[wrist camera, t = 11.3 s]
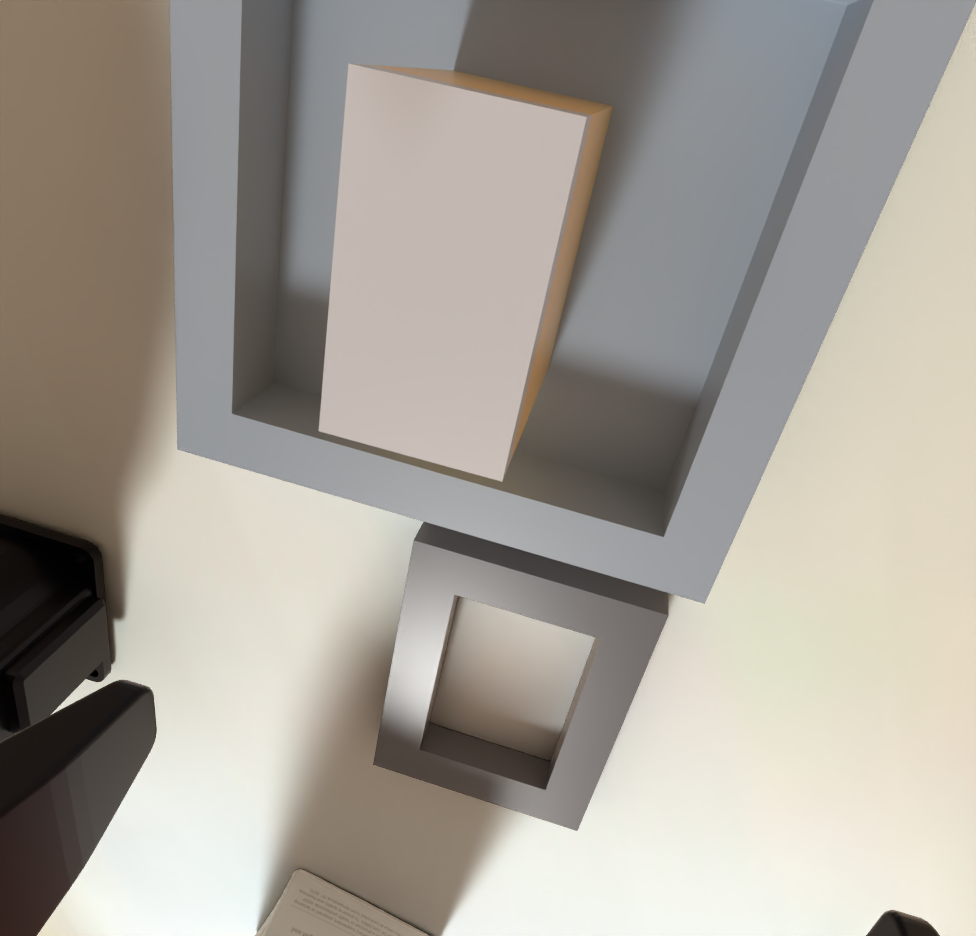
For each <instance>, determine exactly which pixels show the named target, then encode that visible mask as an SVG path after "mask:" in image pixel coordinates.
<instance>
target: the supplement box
mask: <svg viewBox="0 0 976 936" xmlns="http://www.w3.org/2000/svg"><path fill="white" fill-rule="evenodd" d="M255 936H429V935H428V934H426V933H424V932H422V931H420V930H418V929H416V928H414V927H413V926H411V925H409V924H407V923H405V922H403V921H401V920H399V919H397V918H396V917H394V916H392V915H390V914H388V913H386V912H385V911H383V910H381V909H379V908H377V907H374V906H373V905H371V904H369V903H367V902H366V901H364V900H362V899H360V898H358V897H356V896H354V895H352V894H350V893H348V892H346V891H344V890H342V889H340V888H338V887H336V886H334V885H332V884H330V883H328V882H326V881H325V880H323V879H321V878H319V877H317V876H315V875H313V874H311V873H309V872H307V871H305V870H302V869H298V870H296V871H294V873H293V875H292V876H291V878H290V880H289V882H288V884H287V886H286V888H285V890H284V892H283V893H282V895H281V897H280V899H279V900H278V902H277V904H276V905H275V907H274V909H273V910H272V912H271V913H270V915H269V916H268V918H267V919H266V921H265V922H264V924H263V925H262V927H261V928H260V929H259V931H258V932H257V934H256V935H255Z"/></svg>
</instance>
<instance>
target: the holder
mask: <svg viewBox="0 0 976 936" xmlns="http://www.w3.org/2000/svg"><path fill="white" fill-rule="evenodd" d="M458 596H460V597H464V598H467V599H470V600H473V601H477V602H480V603H483V604H487V605H490V606H493V607H497V608H500V609H503V610H507V611H510V612H513V613H517V614H520V615H523V616H527V617H530V618H533V619H537V620H540V621H543V622H547V623H550V624H553V625H557V626H560V627H563V628H567V629H570V630H573V631H577V632H580V633H583V634H587V635H590V636H593V637H596V638H595V641H594V644H593V646H592V649H591V652H590V655H589V657H588V660H587V663H586V665H585V668H584V671H583V674H582V676H581V679H580V682H579V685H578V687H577V690H576V693H575V696H574V698H573V701H572V704H571V707H570V709H569V712H568V715H567V718H566V720H565V723H564V726H563V729H562V731H561V734H560V737H559V740H558V742H557V745H556V748H555V751H554V753H553V756H552V759H551V761H550V762H549V761H546V760H543V759H540V758H537V757H534V756H531V755H527V754H524V753H521V752H518V751H515V750H512V749H508V748H505V747H502V746H499V745H496V744H493V743H490V742H486V741H483V740H480V739H477V738H474V737H471V736H468V735H464V734H461V733H458V732H455V731H452V730H449V729H446V728H442V727H439V726H436V725H433V724H430V723H429V722H430V718H431V713H432V709H433V704H434V700H435V696H436V691H437V687H438V683H439V678H440V674H441V670H442V665H443V661H444V656H445V652H446V648H447V643H448V639H449V635H450V630H451V626H452V622H453V617H454V613H455V608H456V604H457V600H458ZM667 617H668V593H667V592H663V591H660V590H657V589H653V588H650V587H646V586H643V585H639V584H636V583H633V582H629V581H626V580H622V579H619V578H616V577H612V576H609V575H605V574H602V573H598V572H595V571H592V570H588V569H585V568H581V567H578V566H574V565H571V564H568V563H564V562H561V561H557V560H554V559H551V558H547V557H544V556H540V555H537V554H533V553H530V552H527V551H523V550H520V549H516V548H513V547H510V546H506V545H503V544H499V543H496V542H492V541H489V540H486V539H482V538H479V537H475V536H472V535H468V534H465V533H462V532H458V531H455V530H451V529H448V528H445V527H441V526H438V525H434V524H431V523H427V522H424V523H423V524H422V526H421V528H420V530H419V532H418V533H417V535H416V537H415V539H414V542H413V547H412V553H411V558H410V564H409V569H408V575H407V580H406V586H405V592H404V597H403V603H402V608H401V614H400V619H399V625H398V630H397V636H396V641H395V647H394V652H393V658H392V663H391V669H390V675H389V680H388V686H387V691H386V697H385V702H384V708H383V713H382V719H381V724H380V730H379V735H378V741H377V746H376V752H375V758H374V763H373V765H376V766H379V767H382V768H386V769H389V770H392V771H395V772H398V773H401V774H404V775H407V776H410V777H413V778H416V779H419V780H422V781H425V782H429V783H432V784H435V785H438V786H441V787H444V788H447V789H450V790H453V791H456V792H459V793H462V794H465V795H468V796H472V797H475V798H478V799H481V800H484V801H487V802H490V803H493V804H496V805H499V806H502V807H505V808H508V809H511V810H515V811H518V812H521V813H524V814H527V815H530V816H533V817H536V818H539V819H542V820H545V821H548V822H551V823H554V824H558V825H561V826H564V827H567V828H570V829H573V830H576V831H577V830H578V828H579V825H580V823H581V821H582V818H583V816H584V814H585V811H586V809H587V807H588V804H589V802H590V799H591V797H592V795H593V792H594V790H595V788H596V785H597V783H598V781H599V778H600V776H601V773H602V771H603V769H604V766H605V764H606V762H607V759H608V757H609V755H610V752H611V750H612V747H613V745H614V743H615V740H616V738H617V736H618V733H619V731H620V729H621V726H622V724H623V721H624V719H625V717H626V714H627V712H628V710H629V707H630V705H631V703H632V700H633V698H634V695H635V693H636V691H637V688H638V686H639V684H640V681H641V679H642V677H643V674H644V672H645V669H646V667H647V665H648V662H649V660H650V658H651V655H652V653H653V651H654V648H655V646H656V643H657V641H658V639H659V636H660V634H661V632H662V629H663V627H664V625H665V622H666V620H667Z"/></svg>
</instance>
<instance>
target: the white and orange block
mask: <svg viewBox="0 0 976 936" xmlns="http://www.w3.org/2000/svg"><path fill="white" fill-rule="evenodd" d="M612 108H613V106H611V105H607V104H602V103H598V102H593V101H589V100H584V99H580V98H575V97H571V96H566V95H562V94H557V93H553V92H548V91H544V90H539V89H535V88H530V87H526V86H521V85H517V84H512V83H508V82H503V81H499V80H494V79H490V78H485V77H481V76H476V75H472V74H467V73H463V72H458V71H454V70H439V69H424V68H409V67H394V66H379V65H364V64H348V76H347V88H346V101H345V113H344V125H343V137H342V150H341V162H340V174H339V187H338V199H337V211H336V223H335V236H334V248H333V260H332V273H331V285H330V297H329V309H328V322H327V334H326V346H325V359H324V371H323V383H322V395H321V408H320V420H319V431H320V432H324V433H327V434H331V435H334V436H338V437H342V438H345V439H349V440H353V441H356V442H360V443H363V444H367V445H371V446H374V447H378V448H382V449H385V450H389V451H392V452H396V453H400V454H403V455H407V456H411V457H414V458H418V459H421V460H425V461H429V462H432V463H436V464H440V465H443V466H447V467H450V468H454V469H458V470H461V471H465V472H469V473H472V474H476V475H480V476H483V477H487V478H490V479H494V480H498V481H501V482H502V481H503V479H504V476H505V474H506V471H507V469H508V466H509V464H510V461H511V459H512V457H513V454H514V452H515V449H516V447H517V444H518V442H519V439H520V437H521V434H522V432H523V430H524V427H525V425H526V422H527V420H528V417H529V415H530V412H531V410H532V407H533V405H534V403H535V400H536V398H537V395H538V393H539V390H540V388H541V385H542V383H543V380H544V378H545V376H546V373H547V371H548V368H549V364H550V360H551V356H552V352H553V348H554V344H555V340H556V335H557V331H558V327H559V323H560V319H561V315H562V311H563V307H564V303H565V299H566V295H567V291H568V287H569V283H570V279H571V275H572V271H573V267H574V262H575V258H576V254H577V250H578V246H579V242H580V238H581V234H582V230H583V226H584V222H585V218H586V214H587V210H588V206H589V202H590V198H591V194H592V189H593V185H594V181H595V177H596V173H597V169H598V165H599V161H600V157H601V153H602V149H603V145H604V141H605V137H606V133H607V129H608V125H609V121H610V116H611V112H612Z"/></svg>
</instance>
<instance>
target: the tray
mask: <svg viewBox="0 0 976 936" xmlns="http://www.w3.org/2000/svg"><path fill="white" fill-rule="evenodd" d="M975 3H976V0H170V56H171V113H172V169H173V225H174V282H175V338H176V394H177V449H178V450H181V451H185V452H188V453H191V454H195V455H198V456H202V457H205V458H209V459H212V460H215V461H219V462H222V463H226V464H229V465H233V466H236V467H239V468H243V469H246V470H250V471H253V472H256V473H260V474H263V475H267V476H270V477H274V478H277V479H280V480H284V481H287V482H291V483H294V484H297V485H301V486H304V487H308V488H311V489H315V490H318V491H321V492H325V493H328V494H332V495H335V496H339V497H342V498H345V499H349V500H352V501H356V502H359V503H362V504H366V505H369V506H373V507H376V508H380V509H383V510H386V511H390V512H393V513H397V514H400V515H403V516H407V517H410V518H414V519H417V520H421V521H424V522H427V523H431V524H434V525H438V526H441V527H445V528H448V529H451V530H455V531H458V532H462V533H465V534H468V535H472V536H475V537H479V538H482V539H486V540H489V541H492V542H496V543H499V544H503V545H506V546H510V547H513V548H516V549H520V550H523V551H527V552H530V553H533V554H537V555H540V556H544V557H547V558H551V559H554V560H557V561H561V562H564V563H568V564H571V565H574V566H578V567H581V568H585V569H588V570H592V571H595V572H598V573H602V574H605V575H609V576H612V577H616V578H619V579H622V580H626V581H629V582H633V583H636V584H639V585H643V586H646V587H650V588H653V589H657V590H660V591H663V592H667V593H670V594H674V595H677V596H680V597H684V598H687V599H691V600H694V601H698V602H701V603H704V604H705V602H706V599H707V597H708V595H709V593H710V591H711V588H712V586H713V584H714V582H715V579H716V577H717V575H718V573H719V571H720V568H721V566H722V564H723V562H724V559H725V557H726V555H727V553H728V551H729V548H730V546H731V544H732V542H733V540H734V537H735V535H736V533H737V531H738V528H739V526H740V524H741V522H742V520H743V517H744V515H745V513H746V511H747V508H748V506H749V504H750V502H751V500H752V497H753V495H754V493H755V491H756V488H757V486H758V484H759V482H760V480H761V477H762V475H763V473H764V471H765V469H766V466H767V464H768V462H769V460H770V457H771V455H772V453H773V451H774V449H775V446H776V444H777V442H778V440H779V437H780V435H781V433H782V431H783V429H784V426H785V424H786V422H787V420H788V418H789V415H790V413H791V411H792V409H793V406H794V404H795V402H796V400H797V398H798V395H799V393H800V391H801V389H802V386H803V384H804V382H805V380H806V378H807V375H808V373H809V371H810V369H811V367H812V364H813V362H814V360H815V358H816V355H817V353H818V351H819V349H820V347H821V344H822V342H823V340H824V338H825V335H826V333H827V331H828V329H829V327H830V324H831V322H832V320H833V318H834V315H835V313H836V311H837V309H838V307H839V304H840V302H841V300H842V298H843V296H844V293H845V291H846V289H847V287H848V284H849V282H850V280H851V278H852V276H853V273H854V271H855V269H856V267H857V264H858V262H859V260H860V258H861V256H862V253H863V251H864V249H865V247H866V245H867V242H868V240H869V238H870V236H871V233H872V231H873V229H874V227H875V225H876V222H877V220H878V218H879V216H880V213H881V211H882V209H883V207H884V205H885V202H886V200H887V198H888V196H889V193H890V191H891V189H892V187H893V185H894V182H895V180H896V178H897V176H898V174H899V171H900V169H901V167H902V165H903V162H904V160H905V158H906V156H907V154H908V151H909V149H910V147H911V145H912V142H913V140H914V138H915V136H916V134H917V131H918V129H919V127H920V125H921V123H922V120H923V118H924V116H925V114H926V111H927V109H928V107H929V105H930V103H931V100H932V98H933V96H934V94H935V91H936V89H937V87H938V85H939V83H940V80H941V78H942V76H943V74H944V72H945V69H946V67H947V65H948V63H949V60H950V58H951V56H952V54H953V52H954V49H955V47H956V45H957V43H958V40H959V38H960V36H961V34H962V32H963V29H964V27H965V25H966V23H967V20H968V18H969V16H970V14H971V12H972V9H973V7H974V5H975ZM348 64H364V65H379V66H394V67H409V68H424V69H439V70H454V71H458V72H463V73H467V74H472V75H476V76H481V77H485V78H490V79H494V80H499V81H503V82H508V83H512V84H517V85H521V86H526V87H530V88H535V89H539V90H544V91H548V92H553V93H557V94H562V95H566V96H571V97H575V98H580V99H584V100H589V101H593V102H598V103H602V104H607V105H611V106H613V108H612V112H611V116H610V121H609V125H608V129H607V133H606V137H605V141H604V145H603V149H602V153H601V157H600V161H599V165H598V169H597V173H596V177H595V181H594V185H593V189H592V194H591V198H590V202H589V206H588V210H587V214H586V218H585V222H584V226H583V230H582V234H581V238H580V242H579V246H578V250H577V254H576V258H575V262H574V267H573V271H572V275H571V279H570V283H569V287H568V291H567V295H566V299H565V303H564V307H563V311H562V315H561V319H560V323H559V327H558V331H557V335H556V340H555V344H554V348H553V352H552V356H551V360H550V364H549V368H548V371H547V373H546V376H545V378H544V380H543V383H542V385H541V388H540V390H539V393H538V395H537V398H536V400H535V403H534V405H533V407H532V410H531V412H530V415H529V417H528V420H527V422H526V425H525V427H524V430H523V432H522V434H521V437H520V439H519V442H518V444H517V447H516V449H515V452H514V454H513V457H512V459H511V461H510V464H509V466H508V469H507V471H506V474H505V476H504V479H503V481H502V482H501V481H498V480H494V479H490V478H487V477H483V476H480V475H476V474H472V473H469V472H465V471H461V470H458V469H454V468H450V467H447V466H443V465H440V464H436V463H432V462H429V461H425V460H421V459H418V458H414V457H411V456H407V455H403V454H400V453H396V452H392V451H389V450H385V449H382V448H378V447H374V446H371V445H367V444H363V443H360V442H356V441H353V440H349V439H345V438H342V437H338V436H334V435H331V434H327V433H324V432H320V431H319V420H320V408H321V395H322V383H323V371H324V359H325V346H326V334H327V322H328V309H329V297H330V285H331V273H332V260H333V248H334V236H335V223H336V211H337V199H338V187H339V174H340V162H341V150H342V137H343V125H344V113H345V101H346V88H347V76H348Z"/></svg>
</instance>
